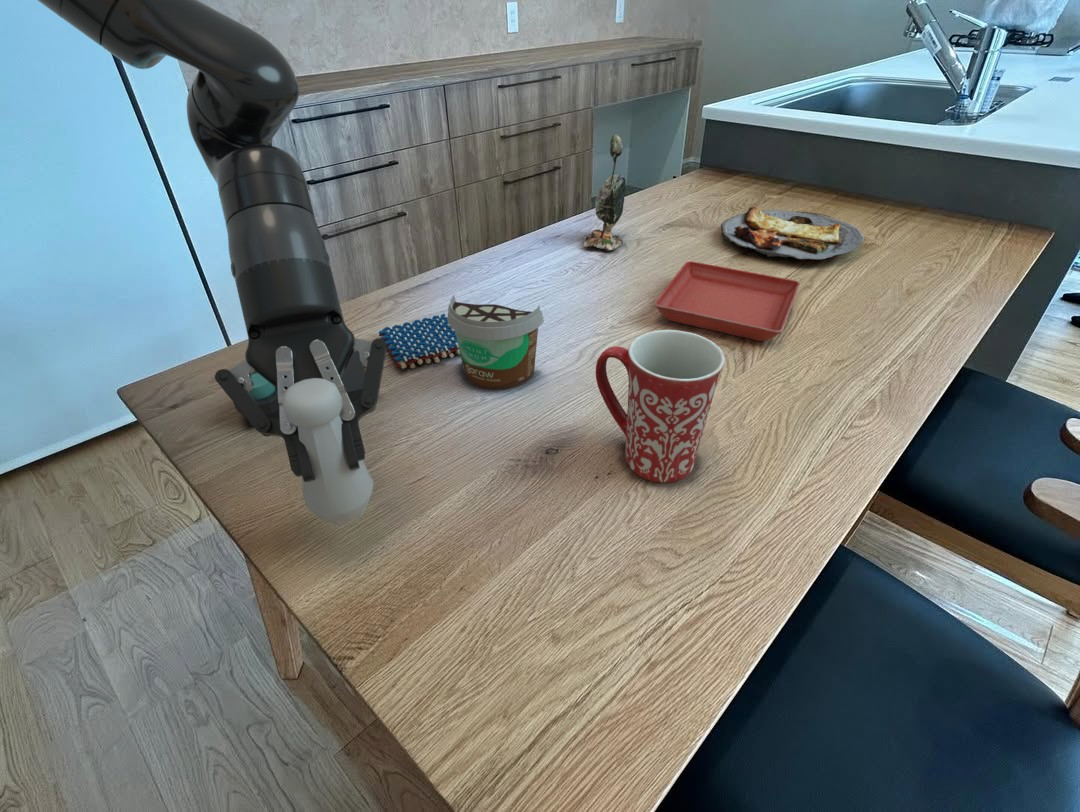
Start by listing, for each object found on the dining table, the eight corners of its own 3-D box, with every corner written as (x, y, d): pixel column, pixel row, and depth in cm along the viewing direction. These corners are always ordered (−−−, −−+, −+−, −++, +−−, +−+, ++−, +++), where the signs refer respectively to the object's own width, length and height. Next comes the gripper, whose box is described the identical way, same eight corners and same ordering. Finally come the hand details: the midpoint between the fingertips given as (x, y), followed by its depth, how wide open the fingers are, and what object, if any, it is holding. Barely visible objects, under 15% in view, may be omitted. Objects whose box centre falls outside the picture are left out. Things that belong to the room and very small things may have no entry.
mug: (717, 453, 64) (740, 346, 56) (680, 502, 58) (700, 391, 50) (616, 412, 70) (624, 310, 62) (574, 453, 64) (576, 347, 56)
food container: (438, 386, 75) (428, 316, 69) (457, 361, 79) (449, 294, 73) (530, 402, 72) (527, 330, 66) (544, 375, 76) (543, 306, 70)
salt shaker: (386, 517, 51) (356, 396, 44) (319, 543, 49) (276, 420, 41) (366, 477, 55) (336, 360, 48) (304, 500, 53) (262, 381, 45)
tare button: (246, 403, 67) (241, 390, 66) (246, 388, 69) (241, 376, 68) (276, 396, 68) (271, 384, 67) (275, 382, 70) (270, 370, 69)
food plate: (700, 246, 111) (702, 228, 109) (746, 212, 126) (750, 196, 124) (838, 278, 99) (844, 258, 97) (871, 237, 113) (877, 219, 111)
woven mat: (474, 354, 81) (472, 341, 80) (399, 374, 77) (396, 361, 76) (448, 322, 88) (446, 310, 87) (378, 339, 85) (376, 326, 83)
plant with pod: (635, 236, 115) (645, 126, 104) (610, 256, 108) (617, 139, 96) (598, 229, 119) (603, 122, 107) (571, 248, 111) (573, 134, 99)
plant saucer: (796, 299, 93) (801, 279, 91) (776, 352, 80) (782, 331, 78) (684, 278, 100) (687, 259, 98) (650, 324, 87) (652, 304, 85)
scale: (241, 434, 67) (231, 410, 65) (242, 376, 77) (233, 354, 75) (373, 404, 72) (368, 380, 70) (358, 353, 82) (353, 331, 80)
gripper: (370, 278, 55) (416, 457, 53) (205, 305, 50) (248, 500, 49) (368, 242, 47) (421, 447, 46) (176, 270, 43) (225, 497, 41)
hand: (332, 473), depth 47 cm, fingers closed on salt shaker, 3 cm apart
